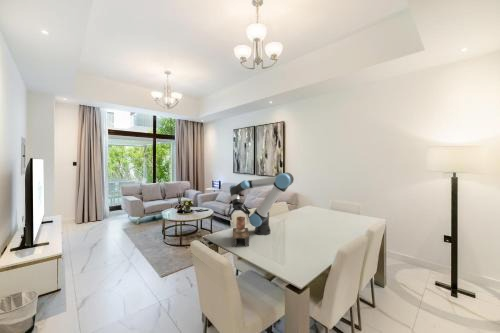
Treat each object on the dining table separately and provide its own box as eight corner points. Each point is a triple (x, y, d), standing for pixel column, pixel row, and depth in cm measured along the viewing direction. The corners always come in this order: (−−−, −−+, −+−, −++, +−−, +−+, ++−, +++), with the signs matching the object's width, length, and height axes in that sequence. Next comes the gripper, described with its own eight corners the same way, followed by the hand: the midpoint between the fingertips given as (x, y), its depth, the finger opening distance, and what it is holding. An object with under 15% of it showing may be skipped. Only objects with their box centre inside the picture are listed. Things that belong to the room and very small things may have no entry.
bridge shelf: (247, 236, 192) (247, 227, 192) (248, 246, 173) (249, 236, 172) (232, 236, 192) (233, 227, 191) (232, 246, 172) (232, 236, 171)
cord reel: (244, 230, 185) (244, 216, 185) (244, 233, 179) (245, 218, 178) (236, 230, 185) (236, 216, 184) (236, 233, 178) (236, 218, 177)
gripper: (248, 202, 201) (253, 223, 187) (221, 203, 193) (225, 225, 179) (250, 197, 195) (255, 218, 182) (222, 199, 187) (226, 221, 174)
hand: (240, 222), depth 181 cm, fingers open, 13 cm apart
